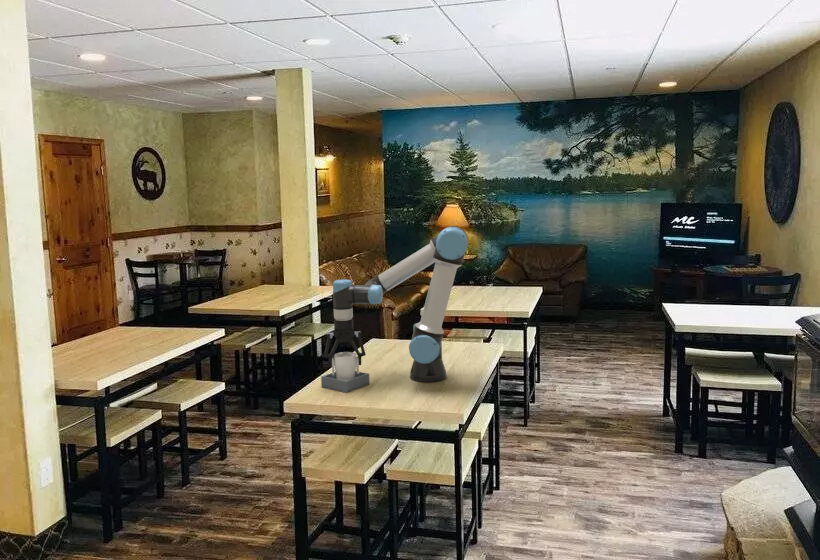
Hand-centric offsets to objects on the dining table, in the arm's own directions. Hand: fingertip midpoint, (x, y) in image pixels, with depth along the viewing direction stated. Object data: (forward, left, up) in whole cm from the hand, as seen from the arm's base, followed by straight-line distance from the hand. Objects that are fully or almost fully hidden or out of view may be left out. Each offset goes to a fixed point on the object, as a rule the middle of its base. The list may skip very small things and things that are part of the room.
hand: (345, 373), depth 271 cm
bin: (0, 0, -5) cm, 5 cm away
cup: (0, 0, -4) cm, 4 cm away
